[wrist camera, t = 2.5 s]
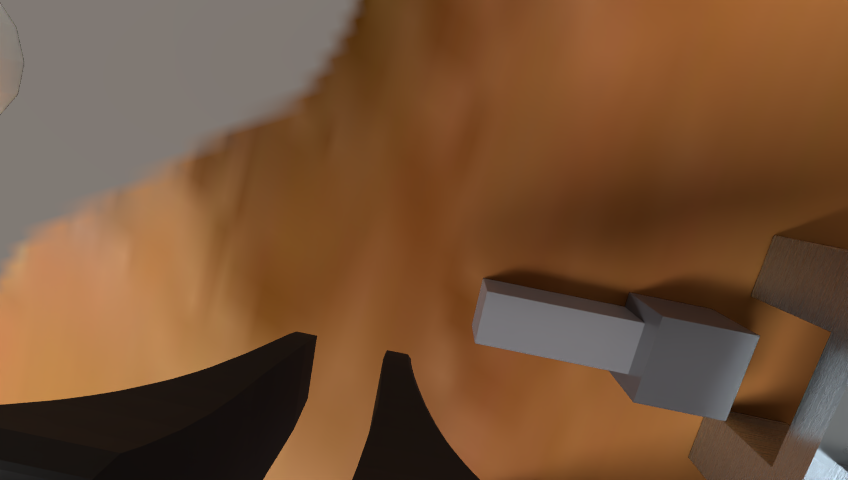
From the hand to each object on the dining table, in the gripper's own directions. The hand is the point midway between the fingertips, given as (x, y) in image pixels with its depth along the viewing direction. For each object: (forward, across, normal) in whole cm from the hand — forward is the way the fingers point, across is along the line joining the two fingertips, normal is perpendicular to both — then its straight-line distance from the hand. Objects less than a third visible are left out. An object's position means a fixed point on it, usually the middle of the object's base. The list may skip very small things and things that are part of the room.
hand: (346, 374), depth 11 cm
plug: (+9, -11, 0) cm, 14 cm away
